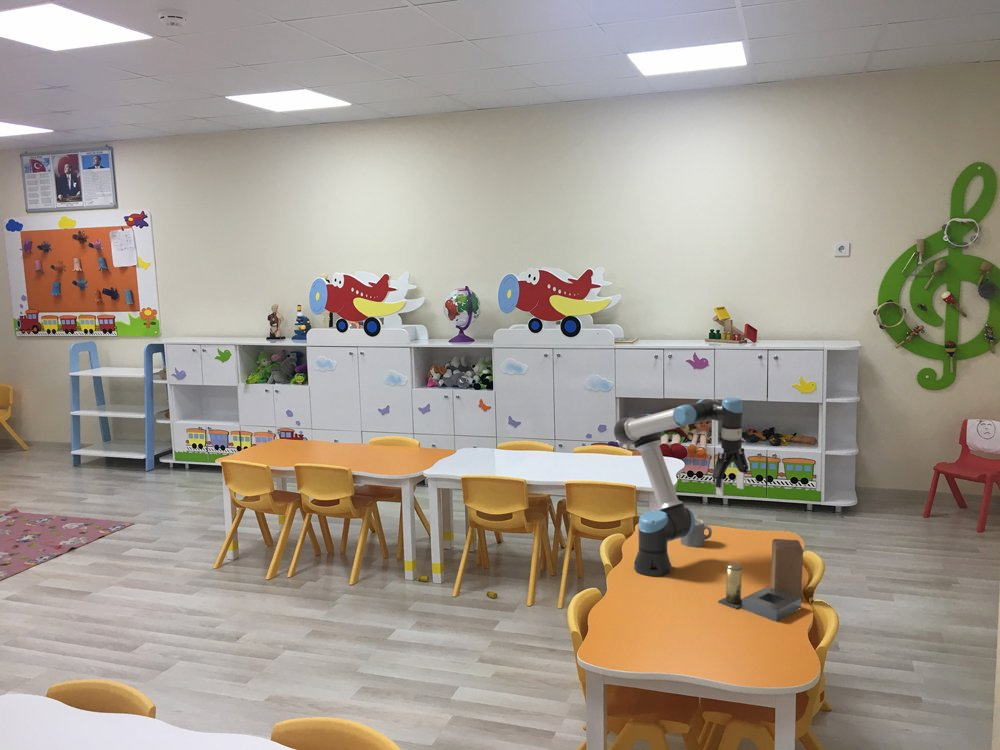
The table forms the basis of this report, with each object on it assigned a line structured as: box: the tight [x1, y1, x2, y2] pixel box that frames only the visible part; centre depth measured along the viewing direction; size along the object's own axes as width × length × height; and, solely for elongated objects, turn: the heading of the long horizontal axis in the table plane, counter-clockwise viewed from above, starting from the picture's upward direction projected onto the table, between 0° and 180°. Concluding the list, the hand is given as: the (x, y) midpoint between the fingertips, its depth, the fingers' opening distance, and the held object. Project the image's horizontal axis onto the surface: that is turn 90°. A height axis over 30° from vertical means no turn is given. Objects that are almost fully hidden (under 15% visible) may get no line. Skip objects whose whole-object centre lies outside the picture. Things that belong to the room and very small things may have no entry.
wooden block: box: [770, 538, 804, 599], centre depth 308 cm, size 10×10×20 cm
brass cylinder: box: [725, 562, 743, 604], centre depth 301 cm, size 5×5×14 cm
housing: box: [741, 586, 802, 623], centre depth 296 cm, size 14×16×4 cm
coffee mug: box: [680, 517, 713, 548], centre depth 364 cm, size 13×10×10 cm
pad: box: [717, 597, 742, 610], centre depth 302 cm, size 8×8×1 cm
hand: (730, 491), depth 316 cm, fingers open, 13 cm apart
